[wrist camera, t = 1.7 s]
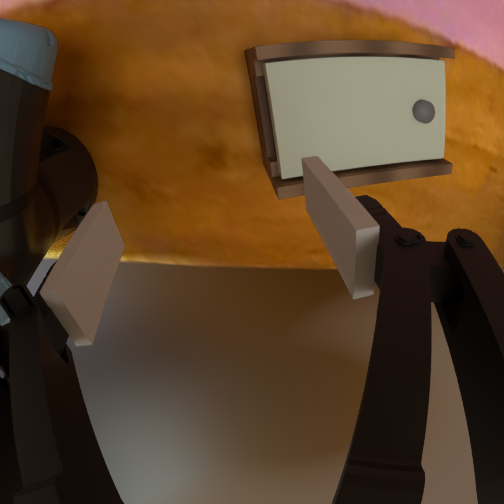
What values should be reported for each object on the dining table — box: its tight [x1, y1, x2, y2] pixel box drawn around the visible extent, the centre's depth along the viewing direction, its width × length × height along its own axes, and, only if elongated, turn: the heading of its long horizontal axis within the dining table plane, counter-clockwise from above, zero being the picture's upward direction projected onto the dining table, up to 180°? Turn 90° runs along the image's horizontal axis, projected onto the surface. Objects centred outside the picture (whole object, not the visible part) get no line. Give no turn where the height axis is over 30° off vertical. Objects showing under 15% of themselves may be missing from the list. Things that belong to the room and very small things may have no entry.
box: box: [245, 40, 454, 199], centre depth 30 cm, size 20×14×10 cm
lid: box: [262, 56, 446, 179], centre depth 27 cm, size 19×11×3 cm, turn 99°
